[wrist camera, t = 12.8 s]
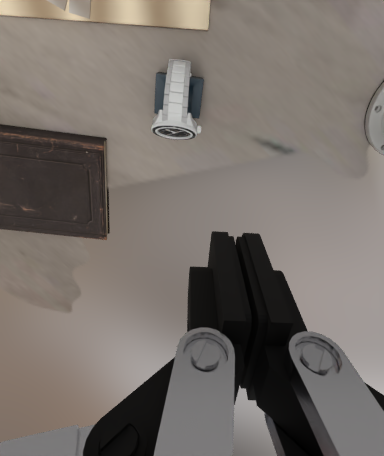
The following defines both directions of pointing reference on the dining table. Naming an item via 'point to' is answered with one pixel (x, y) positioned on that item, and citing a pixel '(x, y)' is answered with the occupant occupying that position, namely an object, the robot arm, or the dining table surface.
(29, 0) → the dial board
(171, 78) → the watch
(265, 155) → the dining table surface
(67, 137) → the hardcover book
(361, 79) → the dining table surface
